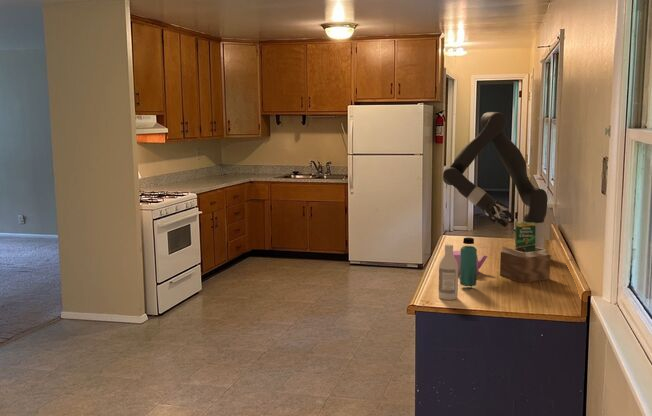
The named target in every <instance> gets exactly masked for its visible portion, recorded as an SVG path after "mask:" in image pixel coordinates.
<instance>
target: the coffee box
mask: <svg viewBox="0 0 652 416" xmlns="http://www.w3.org/2000/svg"><path fill="white" fill-rule="evenodd" d="M514 225H515V226H514V228H515V229H514V235H515V236H514V238H515V239H514V250H517V251H521V252H533V251H535V237H536V223H535V222H524V221H522V222H520V221H519V222H518V221H517V222H515V224H514Z"/></svg>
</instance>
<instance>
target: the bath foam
mask: <svg viewBox="0 0 652 416" xmlns="http://www.w3.org/2000/svg"><path fill="white" fill-rule="evenodd" d="M453 251H454V244H452V243H446V244H445V245H444V255H443V256H442V258H441V259H440V262H439V264H438V265H439V266H438V297H439V299H441V300H444V301H453V300H456V299H458V297H459V295H458V294H459V293H458V292H459V291H458V289H459V288H458V287H459V275H458V263H457V260H456V259H455V257H454V255H453Z"/></svg>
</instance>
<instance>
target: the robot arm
mask: <svg viewBox="0 0 652 416" xmlns="http://www.w3.org/2000/svg"><path fill="white" fill-rule="evenodd" d="M507 124H508V120H507V117H506V114H504V113H503V112H497V111H487V112H485V113H483V114H482V116H481V117H480V126H481V128H482V130H481V132H480V133H479V134H478V135H477V136H476V137H475V138H473V139H472V140H471V141H470V142H469V143H467V144H466V145H465V146H464V147H463V148H462V149H461V150H460V152H459V153H458V154H457V155H456V157H455V159H454V160H453V162H452V164H451V165H449V167H447V168H445V169H444V171H443V173H442V180H443V182H444V183H445V185H447V186H452V187H453V188H454V189H456V190H457V191H458V193H459V194H460V195H462V197H464V198H465V199H467V200H468V201H469V203H471V204H472V205H474V206H475V207H476V208H478V209H479V211H481V212H484V213H483V215H484V216H485V217H486V218H487V219H488V220H490V221H491V222H492V223H493V224H495V223H498V224H500V226H502V227H504V228H506V227H507V226H508V222H507V221H506V220H505V219H503V218H501V216H500V214H503V215H505V216H506V217H507V218H509V220H513V218H514V217H515V214H513V213H512V212H510V211H509V206H508V205H506V204H505V203H503V202H502V201H500V200H499V199H496V200H495V201H494V199H495V198H494V197H493V196H492V195H490V194H489V193H487V192H486V191H485V190H484V189H482V188H481V187H478V185H476V184H475V183H473V182H472V181H470V180H469V179H468V178H467V177H466V176H465V175H464V173H465V171H466V170H467V169H468V168H469V166H471V164H472V163H473V162H474V160H475V159H476V158H477V157H478V155H479V154H480V153H481V152H482V151H483V150H484V149H485V148H486V147H487V146H488V145H489V144H490V143H492V144H493V146H494V148H495V150H496V152H497V154H498V156H499V158H500V160H501V162H502V164H503V166H504V167H505V169H506V171H507V172H508V175H509V176H510V178H511V179H512V181H513V184H514V185H515V187H516V190H517V193H518V195H519V197H520V199H521V201H522V203H523V204H524V205H525V206H526V207H529V208H528V213H526V214H525V215H523V222H535V223H536V237H535V247H538V248H542V249H546V248H545V247H546V237H544V236H545V234H544V233H545V229H544V228H545V220H546V216H547V209H548V200H549V199H548V192H547V191H545V190H544V189H543V188H539V187H538V188H537V187H534V185H533V183H532V182H531V180H530V179H529V177H528V171H527V170H528V169H527V162H526V159H525V157H524V156H523V154H522V152H521V150H520V148H518V147H517V145H515V143H514V142H513V141H512V140H511V139H510V138H509V137H508V135H506V133H505V131H504V130H505V128H506V126H507Z"/></svg>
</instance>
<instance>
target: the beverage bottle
mask: <svg viewBox="0 0 652 416" xmlns="http://www.w3.org/2000/svg"><path fill="white" fill-rule="evenodd" d="M462 243H463V244H464V245H463V246H462V247H460V250H459V251H461V253H460V275H459V285H460V286H464V287H475V286H477V282H478V281H477V275H476V273H477V272H476V271H477V267H476V266H477V260H476V258H477V257H478V254H477V253H478V252H477V250H478V249H477V248H476V247H475V246H474V244H475V239H474V237H467V236H466V237H463V241H462Z"/></svg>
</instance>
